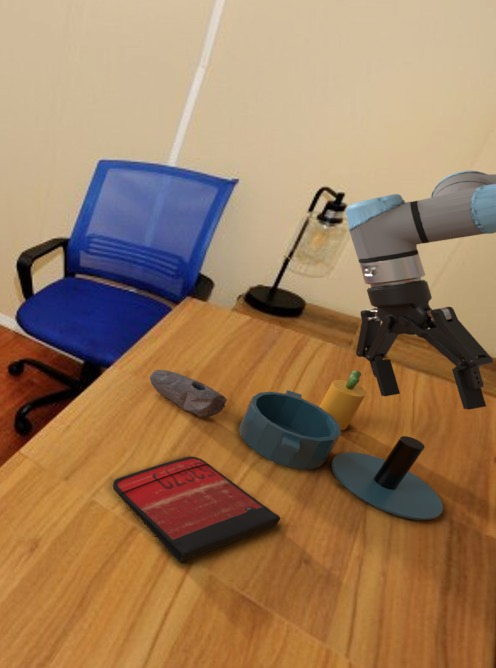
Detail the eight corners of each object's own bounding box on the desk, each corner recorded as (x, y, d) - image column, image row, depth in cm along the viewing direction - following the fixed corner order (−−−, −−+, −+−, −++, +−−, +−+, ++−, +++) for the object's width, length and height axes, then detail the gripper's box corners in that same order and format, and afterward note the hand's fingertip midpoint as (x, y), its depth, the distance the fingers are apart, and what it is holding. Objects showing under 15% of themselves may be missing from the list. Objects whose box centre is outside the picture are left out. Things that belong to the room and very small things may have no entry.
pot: (323, 431, 104) (338, 403, 101) (324, 491, 91) (342, 461, 88) (243, 403, 112) (255, 376, 108) (234, 455, 99) (247, 427, 95)
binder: (281, 516, 84) (184, 555, 78) (277, 526, 85) (180, 565, 79) (196, 450, 98) (107, 479, 92) (193, 459, 99) (105, 488, 93)
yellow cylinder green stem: (346, 419, 107) (374, 369, 101) (347, 433, 103) (377, 383, 97) (314, 409, 110) (340, 360, 104) (314, 422, 106) (341, 372, 100)
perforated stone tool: (140, 388, 117) (148, 363, 114) (154, 381, 119) (162, 357, 116) (206, 428, 105) (217, 402, 102) (221, 419, 107) (231, 394, 104)
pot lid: (432, 481, 93) (465, 436, 87) (447, 538, 82) (485, 492, 77) (329, 445, 101) (353, 402, 96) (330, 492, 91) (358, 447, 86)
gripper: (314, 290, 102) (343, 394, 101) (451, 281, 77) (493, 419, 76) (351, 282, 102) (381, 386, 100) (501, 271, 77) (544, 409, 75)
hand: (429, 400), depth 88 cm, fingers open, 13 cm apart
